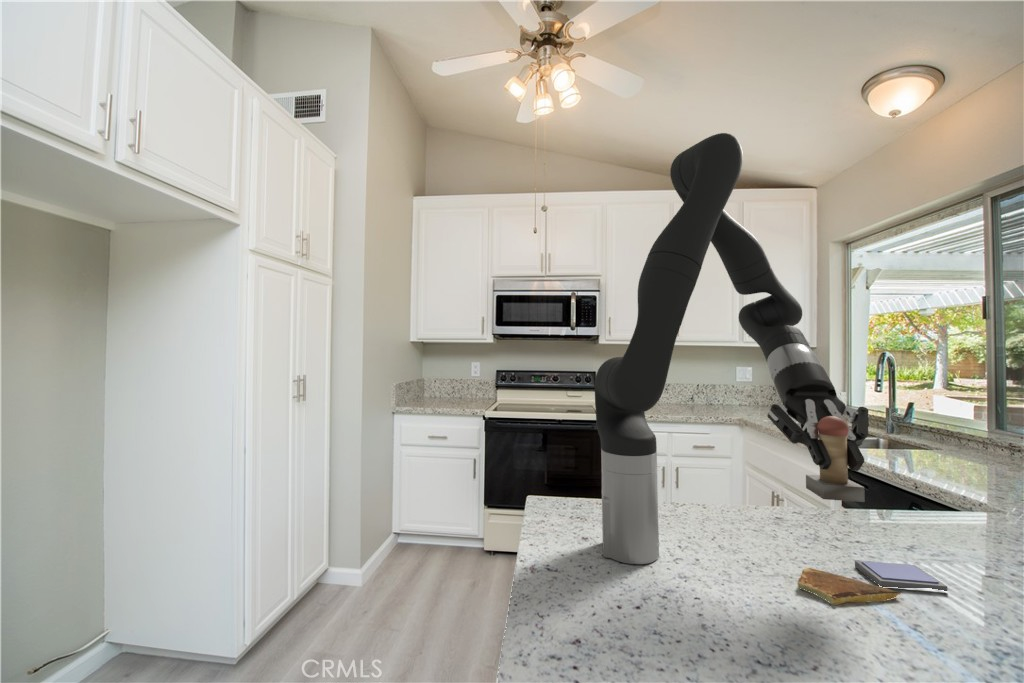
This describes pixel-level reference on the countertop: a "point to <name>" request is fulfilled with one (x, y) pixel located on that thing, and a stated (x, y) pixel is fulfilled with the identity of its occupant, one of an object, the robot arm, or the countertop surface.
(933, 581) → the ink pad
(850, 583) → the brown flat slab
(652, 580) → the countertop surface
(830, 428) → the stamp
